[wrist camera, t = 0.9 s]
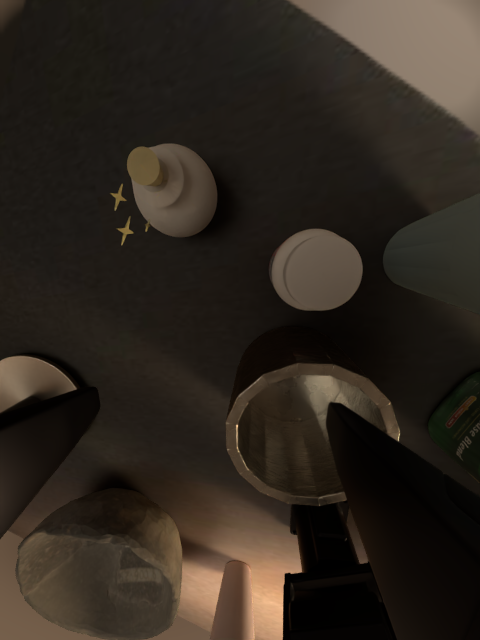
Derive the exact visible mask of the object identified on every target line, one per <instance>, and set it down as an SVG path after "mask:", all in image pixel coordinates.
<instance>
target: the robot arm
mask: <svg viewBox="0 0 480 640" xmlns="http://www.w3.org/2000/svg"><path fill="white" fill-rule="evenodd" d="M99 410H100V400H99V393H98V389H97V388H96V387H82V388H79V389H76V390H73V391H70V392H67V393H64V394H61V395H58V396H55V397H52V398H49V399H46V400H43V401H40V402H36V403H33V404H30V405H27V406H24V407H21V408H18V409H15V410H12V411H9V412H6V413H3V414H0V539H1V537H2V536H3V535H4V534H5V533H6V531H7V530H8V529H9V528H10V527H11V525H12V524H13V523H14V522H15V520H16V519H17V518H18V517H19V515H20V514H21V513H22V512H23V510H24V509H25V508H26V507H27V505H28V504H29V503H30V502H31V501H32V499H33V498H34V497H35V496H36V494H37V493H38V492H39V491H40V489H41V488H42V487H43V486H44V484H45V483H46V482H47V481H48V479H49V478H50V477H51V476H52V475H53V473H54V472H55V471H56V470H57V468H58V467H59V466H60V465H61V463H62V462H63V461H64V460H65V458H66V457H67V456H68V455H69V453H70V452H71V451H72V450H73V448H74V447H75V445H76V444H77V443H78V441H79V440H80V438H81V437H82V435H83V434H84V432H85V431H86V430H87V428H88V427H89V425H90V424H91V422H92V421H93V419H94V418H95V416H96V415H97V413H98V412H99ZM326 429H327V433H328V437H329V441H330V445H331V449H332V453H333V457H334V461H335V465H336V469H337V473H338V476H339V479H340V481H341V484H342V487H343V490H344V493H345V495H346V498H347V500H345V501H340V502H336V503H331V504H327V505H322V506H320V505H319V506H311V505H299V504H291V518H290V532H291V534H294V535H297V537H298V544H299V552H300V559H301V566H302V573H295V574H290V573H286V574H285V585H284V598H283V640H480V497H479V496H478V495H476V494H475V493H473V492H472V491H470V490H469V489H467V488H466V487H464V486H463V485H461V484H460V483H458V482H457V481H455V480H454V479H453V478H451V477H450V476H448V475H447V474H444V475H443V472H442V471H441V470H439V469H438V468H436V467H435V466H433V465H432V464H430V463H429V462H427V461H426V460H424V459H423V458H422V457H420V456H419V455H417V454H416V453H414V452H413V451H411V450H410V449H408V448H407V447H405V446H404V445H402V444H401V443H399V442H398V441H396V440H395V439H394V438H392V437H391V436H389V435H388V434H386V433H385V432H383V431H382V430H380V429H379V428H377V427H376V426H374V425H373V424H371V423H370V422H368V421H367V420H366V419H364V418H363V417H361V416H360V415H358V414H357V413H355V412H354V411H352V410H351V409H349V408H348V407H346V406H345V405H343V404H342V403H337V402H330V403H329V404H328V409H327V417H326ZM349 507H350V509H351V512H352V515H353V518H354V521H355V523H356V526H357V529H358V532H359V535H360V537H361V540H362V543H363V546H364V549H365V551H366V554H367V557H368V560H369V561H368V563H364V564H360V563H359V560H358V557H357V554H356V551H355V548H354V545H353V542H352V539H351V536H350V533H349V530H348V527H347V517H348V510H349Z"/></svg>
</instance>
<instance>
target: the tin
mask: <svg viewBox="0 0 480 640" xmlns="http://www.w3.org/2000/svg"><path fill="white" fill-rule="evenodd" d="M330 402H337V403H342V404H343V405H345V406H346V407H348V408H349V409H351V410H352V411H354V412H355V413H357V414H358V415H360V416H361V417H363V418H364V419H366V420H367V421H368V422H370V423H371V424H373V425H374V426H376V427H377V428H379V429H380V430H382V431H383V432H385V433H386V434H388V435H389V436H391V437H392V438H394V439H395V440H396V441H399V436H400V429H399V426H398V422H397V419H396V416H395V413H394V410H393V406H392V403H391V401H390V400H389V399H388V398H387V397H386V396H385V395H384V394H383V393H382V392H381V391H380V390H379V389H378V388H377V387H376V385H375V384H374V383H373V382H372V381H371V380H370V379H369V378H368V377H367V376H366V375H365V374H364V373H363V372H362V371H361V370H360V369H359V368H358V366H357V365H356V364H355V363H354V362H353V361H352V360H351V359H350V358H349V357H348V356H347V355H346V354H345V353H344V352H343V351H342V350H341V349H340V348H339V347H338V346H337V345H336V343H335V342H334V341H333V340H332V339H331V338H330V337H328V336H326V335H324V334H323V333H321V332H319V331H317V330H314V329H311V328H307V327H302V326H285V327H279V328H276V329H273V330H270V331H268V332H266V333H264V334H262V335H261V336H259V337H258V338H257V339H255V340H254V341H253V342H252V343H251V344H250V345H249V346H248V348H247V349H246V350H245V352H244V354H243V356H242V358H241V360H240V363H239V365H238V368H237V372H236V377H235V381H234V386H233V390H232V395H231V400H230V404H229V409H228V413H227V418H226V449H227V452H228V454H229V456H230V458H231V459H232V461H233V463H234V465H235V467H236V469H237V471H238V473H239V474H240V475H241V476H242V477H243V478H245V479H246V480H247V481H248V482H249V483H250V484H252V485H253V486H254V487H255V488H256V489H257V490H259V491H260V492H261V493H263V494H266V495H268V496H271V497H273V498H276V499H278V500H281V501H283V502H286V503H289V504H299V505H311V506H319V505H320V506H322V505H327V504H331V503H336V502H340V501H345V500H347V498H346V495H345V493H344V490H343V487H342V484H341V481H340V479H339V476H338V473H337V469H336V465H335V461H334V457H333V453H332V449H331V445H330V441H329V437H328V433H327V429H326V417H327V409H328V404H329V403H330Z"/></svg>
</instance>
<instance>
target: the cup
mask: <svg viewBox="0 0 480 640" xmlns="http://www.w3.org/2000/svg"><path fill="white" fill-rule="evenodd" d="M383 266H384V271H385V273H386V275H387V276H388V277H389V279H390V280H391V281H392V282H393V283H395V284H397V285H400V286H402V287H404V288H407V289H409V290H412V291H415V292H418V293H420V294H423V295H426V296H429V297H432V298H435V299H437V300H440V301H443V302H446V303H449V304H451V305H454V306H457V307H460V308H463V309H465V310H468V311H471V312H474V313H477V314H479V315H480V193H479V194H476V195H474V196H472V197H470V198H467V199H465V200H463V201H461V202H458V203H456V204H454V205H452V206H449V207H447V208H445V209H443V210H440V211H438V212H436V213H433V214H431V215H429V216H427V217H424V218H422V219H420V220H418V221H415V222H413V223H411V224H409V225H407V226H406V227H404V228H402V229H400V230H399V231H398V232H396V234H395V235H394V236H393V237H392V238H391V239H390V241H389V242H388V244H387V246H386V248H385V251H384V255H383Z"/></svg>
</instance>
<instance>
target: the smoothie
mask: <svg viewBox="0 0 480 640" xmlns="http://www.w3.org/2000/svg"><path fill="white" fill-rule="evenodd" d="M210 640H255V633H254V616H253V599H252V582H251V569H250V567H249V566H248V565H247V564H245V563H243V562H240V561H231V562H229V563H227V564H226V565H225V569H224V573H223V578H222V583H221V588H220V593H219V597H218V602H217V607H216V612H215V617H214V621H213V626H212V631H211V636H210Z"/></svg>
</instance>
